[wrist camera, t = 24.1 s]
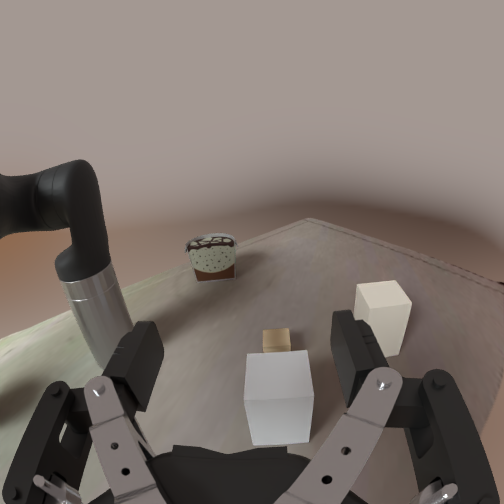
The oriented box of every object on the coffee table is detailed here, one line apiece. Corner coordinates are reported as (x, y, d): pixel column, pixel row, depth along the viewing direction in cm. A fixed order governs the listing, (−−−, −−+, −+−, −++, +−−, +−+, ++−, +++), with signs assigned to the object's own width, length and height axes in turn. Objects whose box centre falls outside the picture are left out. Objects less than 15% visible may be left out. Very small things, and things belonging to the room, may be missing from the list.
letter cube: (264, 365, 41) (262, 346, 40) (264, 347, 45) (263, 329, 43) (290, 363, 41) (290, 345, 39) (289, 346, 45) (288, 327, 43)
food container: (241, 267, 73) (237, 230, 69) (242, 278, 68) (237, 238, 64) (194, 271, 73) (187, 235, 69) (191, 283, 67) (183, 244, 63)
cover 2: (360, 361, 39) (369, 308, 35) (351, 334, 45) (356, 284, 41) (398, 354, 38) (412, 303, 34) (386, 329, 44) (395, 280, 40)
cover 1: (253, 445, 28) (243, 399, 24) (255, 404, 34) (247, 353, 30) (308, 442, 28) (314, 395, 24) (304, 401, 34) (307, 349, 30)
